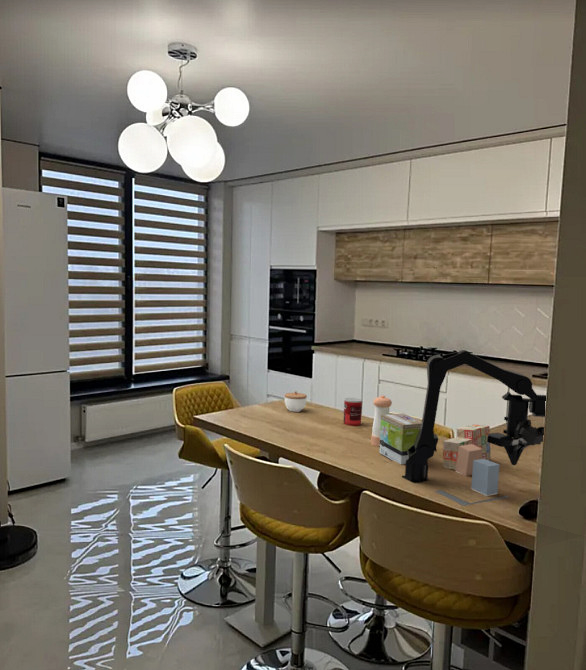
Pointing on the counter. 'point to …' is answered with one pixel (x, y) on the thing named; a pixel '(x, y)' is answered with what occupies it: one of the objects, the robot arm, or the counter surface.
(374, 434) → the salt shaker
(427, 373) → the robot arm
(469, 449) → the dusty pink block
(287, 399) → the lidded jar
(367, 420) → the counter surface
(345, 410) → the canned food
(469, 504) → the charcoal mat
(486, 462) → the slate blue block
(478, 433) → the stack of blocks
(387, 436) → the tea box
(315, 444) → the counter surface
